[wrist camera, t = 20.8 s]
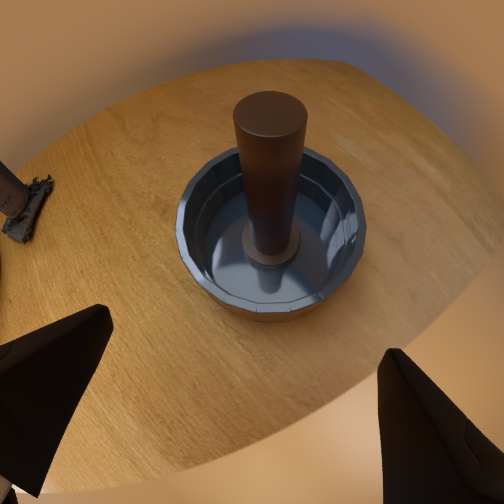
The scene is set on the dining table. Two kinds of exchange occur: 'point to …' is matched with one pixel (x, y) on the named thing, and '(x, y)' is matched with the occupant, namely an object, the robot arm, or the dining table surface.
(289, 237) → the brown flanged post
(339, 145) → the dining table surface
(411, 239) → the dining table surface
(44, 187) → the beverage can
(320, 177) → the bowl
